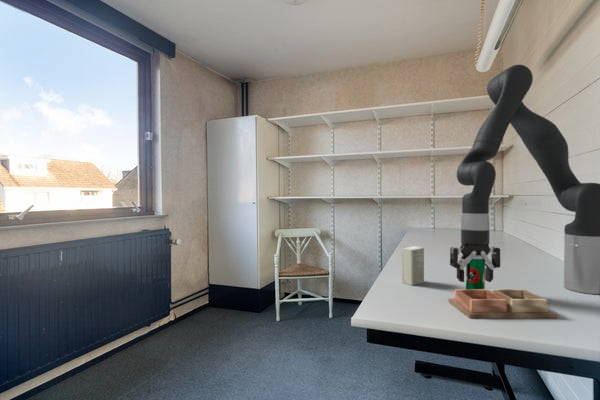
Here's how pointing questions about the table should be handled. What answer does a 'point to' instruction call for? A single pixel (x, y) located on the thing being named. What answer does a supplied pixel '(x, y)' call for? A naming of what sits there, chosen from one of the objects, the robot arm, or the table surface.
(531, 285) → the table surface
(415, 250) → the skincare box
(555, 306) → the table surface
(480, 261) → the soda can
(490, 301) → the can rack
